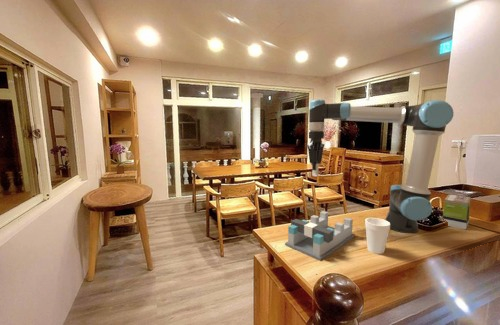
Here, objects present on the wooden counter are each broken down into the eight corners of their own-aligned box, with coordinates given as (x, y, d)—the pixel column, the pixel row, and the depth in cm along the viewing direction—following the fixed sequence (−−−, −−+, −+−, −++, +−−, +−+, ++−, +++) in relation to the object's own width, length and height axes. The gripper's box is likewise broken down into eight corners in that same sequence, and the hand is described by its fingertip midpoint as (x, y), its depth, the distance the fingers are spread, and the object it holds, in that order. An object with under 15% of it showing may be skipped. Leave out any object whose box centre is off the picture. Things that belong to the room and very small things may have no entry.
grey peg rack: (354, 236, 114) (355, 218, 113) (320, 260, 92) (320, 239, 91) (321, 225, 127) (322, 210, 126) (285, 245, 106) (285, 226, 104)
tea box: (446, 217, 137) (448, 193, 135) (469, 222, 130) (472, 197, 128) (441, 224, 127) (444, 198, 125) (466, 230, 120) (469, 202, 118)
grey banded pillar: (333, 240, 98) (333, 230, 97) (327, 243, 94) (328, 233, 94) (296, 227, 111) (296, 218, 111) (290, 229, 108) (290, 220, 108)
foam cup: (384, 246, 104) (386, 218, 102) (391, 257, 95) (393, 226, 93) (361, 244, 106) (362, 217, 104) (366, 254, 97) (368, 224, 95)
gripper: (316, 130, 125) (315, 173, 128) (302, 131, 117) (301, 176, 120) (329, 130, 120) (328, 175, 123) (315, 130, 111) (314, 178, 114)
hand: (315, 175), depth 121 cm, fingers closed
